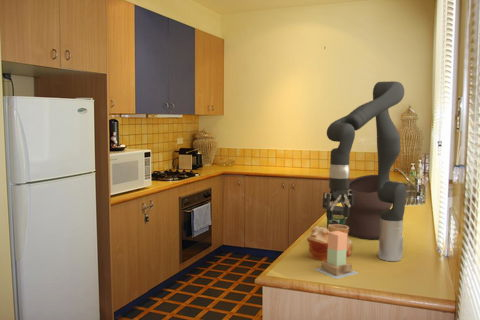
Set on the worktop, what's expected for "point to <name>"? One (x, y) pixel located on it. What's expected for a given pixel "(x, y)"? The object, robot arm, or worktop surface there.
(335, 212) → the coffee jar
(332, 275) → the board
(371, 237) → the vase
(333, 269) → the walnut base
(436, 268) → the worktop surface
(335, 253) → the sage block
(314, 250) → the ceramic vessel
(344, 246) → the terracotta block
